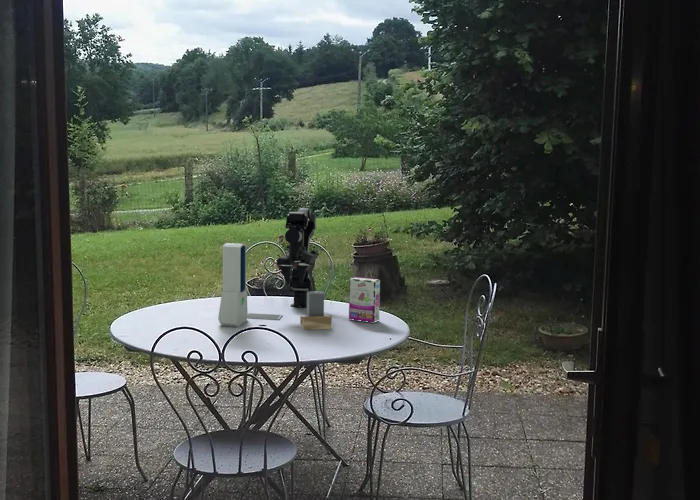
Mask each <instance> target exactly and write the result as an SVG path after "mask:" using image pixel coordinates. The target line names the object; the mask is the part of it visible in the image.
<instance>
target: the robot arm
mask: <svg viewBox="0 0 700 500" xmlns="http://www.w3.org/2000/svg"><path fill="white" fill-rule="evenodd" d="M284 226H285V227H284V228H285V229H288V230H286V232H285V234H284V239H285V241H286V242H287V243H288V245H287V246H286V249H288V255H287V256H286V257H284V256H283V257H277V259H276V265H278V266H277V267H278V268H280V271H281V273H282V275H283V277H284V281H286V284H289V292H290V293H293V303H292V304H290V307H295V308H307V291H313V282H312V280H311V277H310V274H309V273H310V272H309V270H308V269H310V268H311V267H313V265H314V264H315V262H316V260H318V258H319V257H318V251H316V250H311V251H310V242H311V241H310V240H311V239H312V238H313V236H314V235H315V233H316V232H315V230H317V217H316V216H315V215H314V214H313V212H311V209H310V208H306V207H305V208H304V207H299V208H298V209H297V211H289V212H288V214H287V216H286V220H285V225H284ZM295 266H296V267H295Z"/></svg>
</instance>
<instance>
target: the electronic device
mask: <svg viewBox="0 0 700 500" xmlns="http://www.w3.org/2000/svg"><path fill="white" fill-rule="evenodd" d="M248 313H249V312H248V291H247V245H246V244H245V243H232V242H230V243H229V242H227V243H224V244H223V245H222V293H221V296H220V305H219V309H218V316H217V317H218V322H219V324H220V326H222V327H233V328H238V327H239V326H241V325H243V324H244V323H246V322H247V321H248V318H247V317H248Z"/></svg>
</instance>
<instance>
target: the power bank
mask: <svg viewBox="0 0 700 500" xmlns="http://www.w3.org/2000/svg"><path fill="white" fill-rule="evenodd" d="M324 313H325V293H324V292H323V290H312V291H307V307H306V316H324V315H325V314H324Z"/></svg>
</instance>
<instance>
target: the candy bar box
mask: <svg viewBox="0 0 700 500" xmlns="http://www.w3.org/2000/svg"><path fill="white" fill-rule="evenodd" d="M348 294H349V295H348V296H349V298H348V299H349V301H348V320H349V319H354V320H361V321H368V322H375V321H377V320H379V321H380V306H381V305H380V304H381V303H380V301H381V300H380V299H381V279H375V278H367V277H357V276H354V277H351V278H349V292H348ZM368 322H367V323H368Z"/></svg>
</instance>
